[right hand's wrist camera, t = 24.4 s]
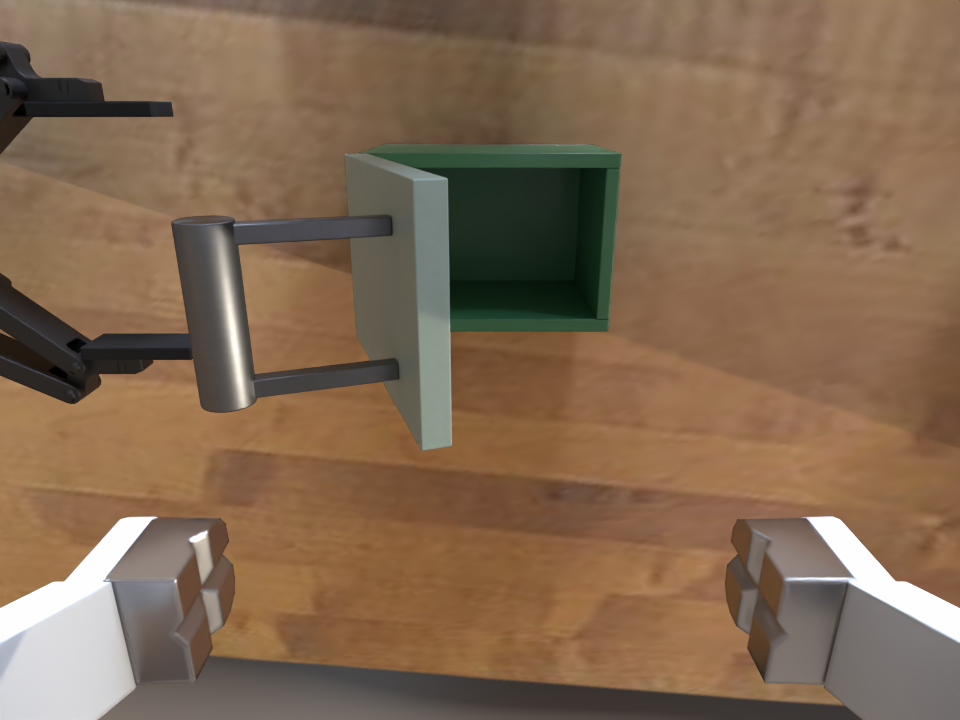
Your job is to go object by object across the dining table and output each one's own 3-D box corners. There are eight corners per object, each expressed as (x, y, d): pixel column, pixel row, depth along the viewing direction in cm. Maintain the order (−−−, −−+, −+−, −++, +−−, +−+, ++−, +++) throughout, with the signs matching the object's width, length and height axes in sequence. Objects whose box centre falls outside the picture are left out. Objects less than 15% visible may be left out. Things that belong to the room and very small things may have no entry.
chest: (591, 144, 42) (622, 153, 33) (582, 288, 46) (608, 332, 36) (384, 143, 42) (357, 152, 33) (390, 287, 46) (368, 331, 36)
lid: (448, 177, 21) (152, 187, 18) (452, 446, 24) (203, 488, 21) (367, 153, 33) (183, 156, 30) (377, 334, 36) (212, 351, 33)
